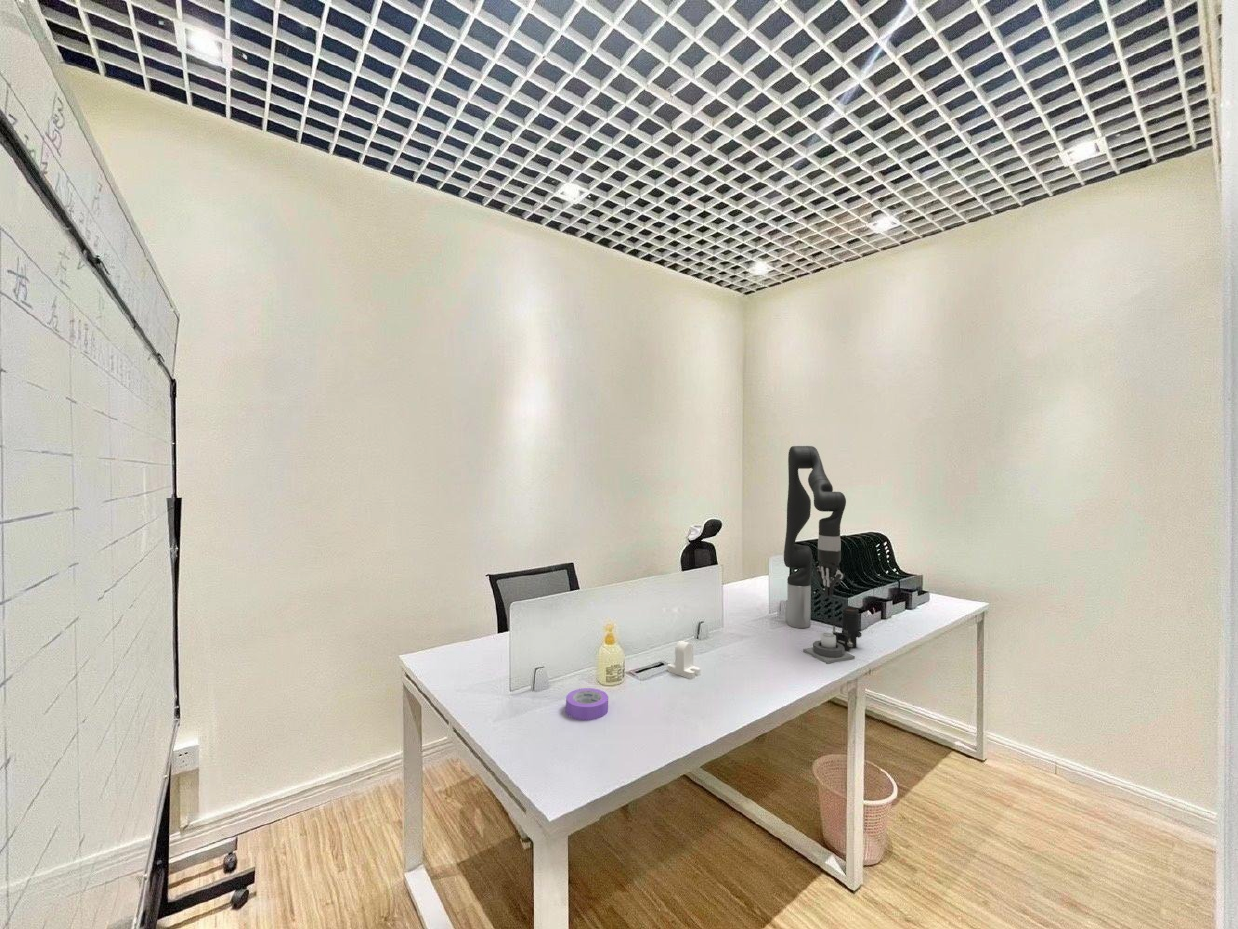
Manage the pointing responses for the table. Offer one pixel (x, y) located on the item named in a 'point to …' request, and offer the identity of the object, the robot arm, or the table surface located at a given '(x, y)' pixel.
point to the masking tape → (587, 704)
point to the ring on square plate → (828, 653)
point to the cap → (828, 640)
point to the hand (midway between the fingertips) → (828, 596)
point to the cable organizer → (684, 661)
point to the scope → (848, 629)
